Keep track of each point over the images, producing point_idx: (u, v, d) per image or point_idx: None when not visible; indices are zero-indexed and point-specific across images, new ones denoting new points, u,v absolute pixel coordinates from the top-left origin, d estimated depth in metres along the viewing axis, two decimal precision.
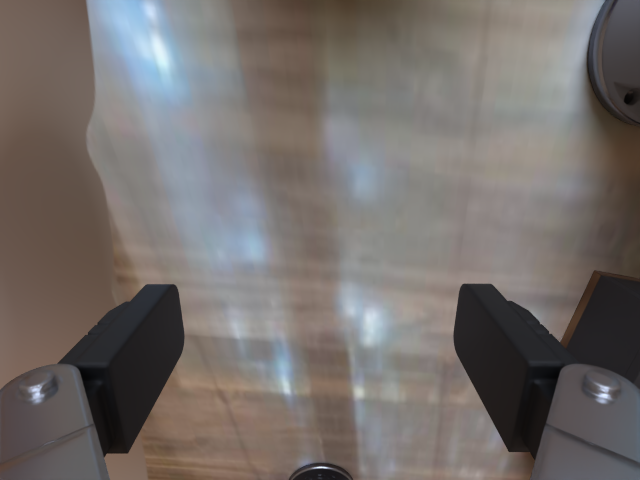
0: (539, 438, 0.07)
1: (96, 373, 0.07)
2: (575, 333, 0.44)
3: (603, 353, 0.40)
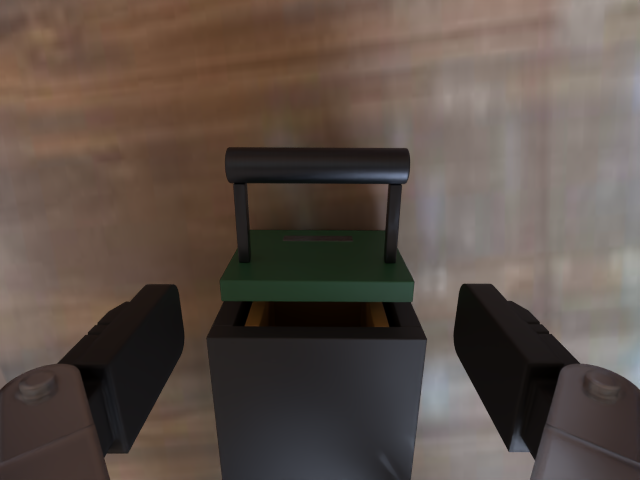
0: (539, 438, 0.07)
1: (96, 373, 0.07)
2: None
3: None
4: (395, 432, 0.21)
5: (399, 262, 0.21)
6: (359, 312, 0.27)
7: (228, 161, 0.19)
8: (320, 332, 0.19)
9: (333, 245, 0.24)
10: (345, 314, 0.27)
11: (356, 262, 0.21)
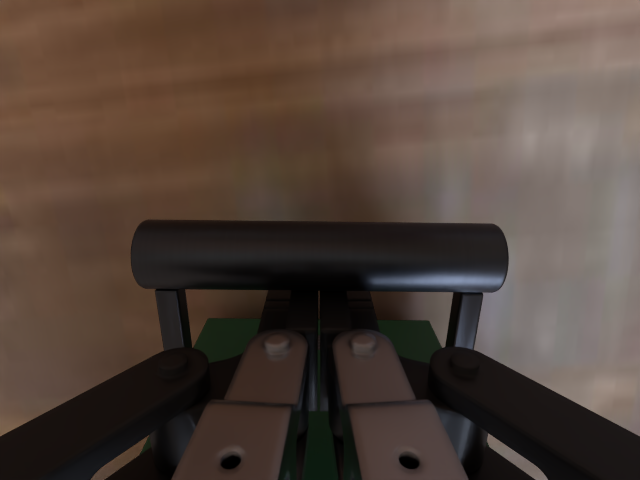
0: (330, 411, 0.08)
1: (305, 338, 0.08)
2: None
3: None
4: None
5: None
6: None
7: (137, 254, 0.09)
8: None
9: None
10: None
11: None
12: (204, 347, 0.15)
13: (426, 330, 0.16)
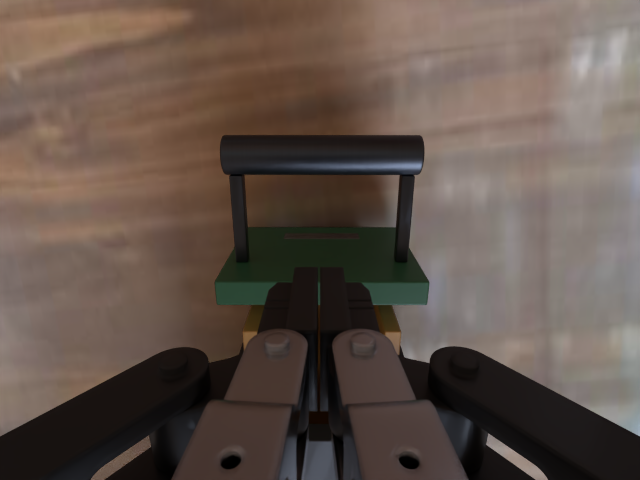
0: (330, 411, 0.08)
1: (305, 338, 0.08)
2: None
3: None
4: None
5: (411, 261, 0.19)
6: None
7: (223, 150, 0.17)
8: (325, 432, 0.20)
9: (338, 243, 0.22)
10: None
11: (364, 261, 0.19)
12: None
13: (394, 231, 0.24)
